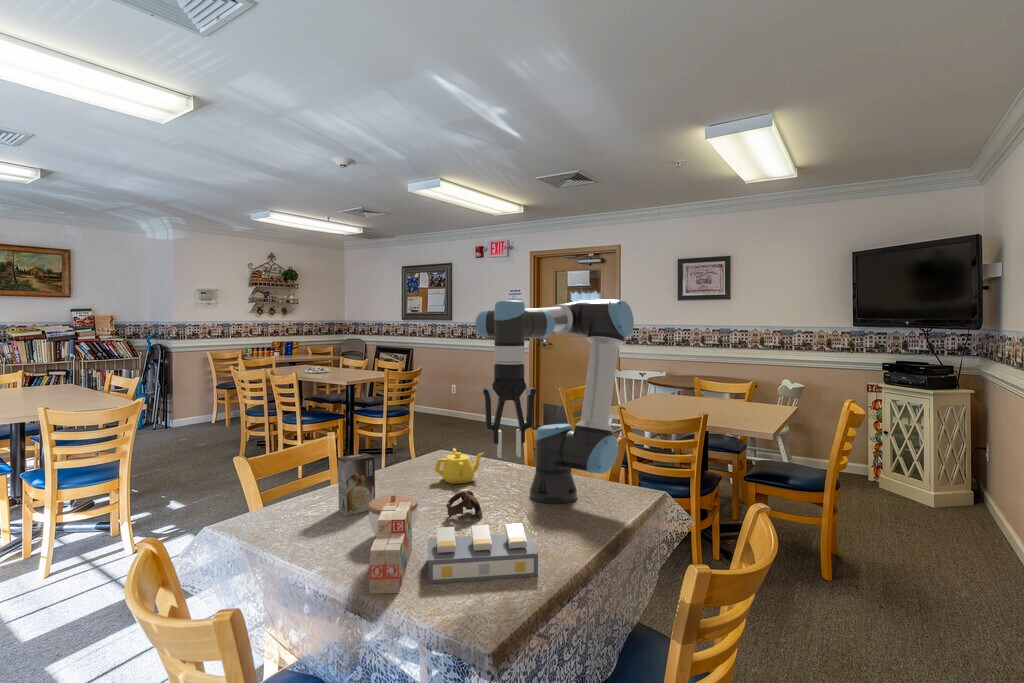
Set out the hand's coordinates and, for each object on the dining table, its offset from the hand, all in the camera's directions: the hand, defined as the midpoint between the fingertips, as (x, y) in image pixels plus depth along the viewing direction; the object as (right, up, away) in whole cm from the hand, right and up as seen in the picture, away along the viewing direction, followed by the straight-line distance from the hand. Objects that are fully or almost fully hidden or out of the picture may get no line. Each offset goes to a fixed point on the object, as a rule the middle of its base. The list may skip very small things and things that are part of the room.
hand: (508, 456), depth 134 cm
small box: (+2, -17, -10) cm, 20 cm away
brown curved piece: (-13, -22, +22) cm, 33 cm away
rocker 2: (-6, -17, -12) cm, 21 cm away
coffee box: (-45, -22, +26) cm, 57 cm away
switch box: (-6, -23, -11) cm, 26 cm away
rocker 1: (-14, -17, -13) cm, 25 cm away
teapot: (-18, -21, +58) cm, 64 cm away
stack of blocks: (-26, -23, -13) cm, 37 cm away
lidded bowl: (-30, -23, +6) cm, 38 cm away
